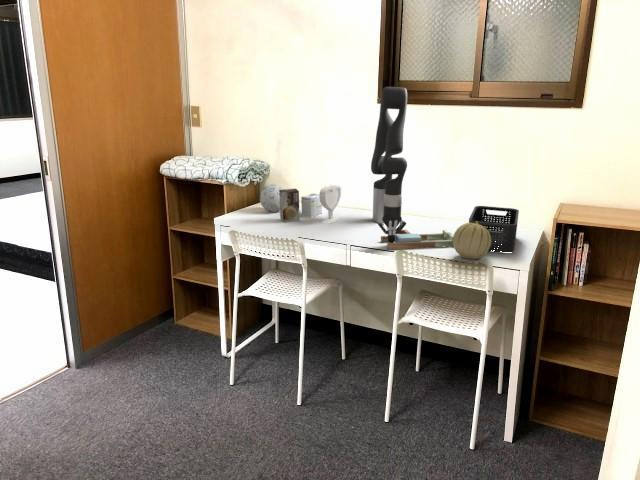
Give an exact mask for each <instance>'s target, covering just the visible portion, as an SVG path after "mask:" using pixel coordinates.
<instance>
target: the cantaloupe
mask: <svg viewBox="0 0 640 480" xmlns="http://www.w3.org/2000/svg"><path fill="white" fill-rule="evenodd" d="M453 235H454V236H453V246H452V247H453V248H454V250H455V252H456V253H457V254H458V255H459V256H461V257H463V258H465V259H468V260H469V259H471V260H477V259H479V258H481V257H483V256H485V255H486V254H487V253H489V252H488V250H489V248H490V245H491V236H490V233H489V231H488V230H487V229H486V228H485V227H483V226H482V225H479V224H478V222H477V221H476V223H469V222H466V223H463V224H461V225H459V227H458V228H457V229H456V231H455V232H454V234H453Z"/></svg>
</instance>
